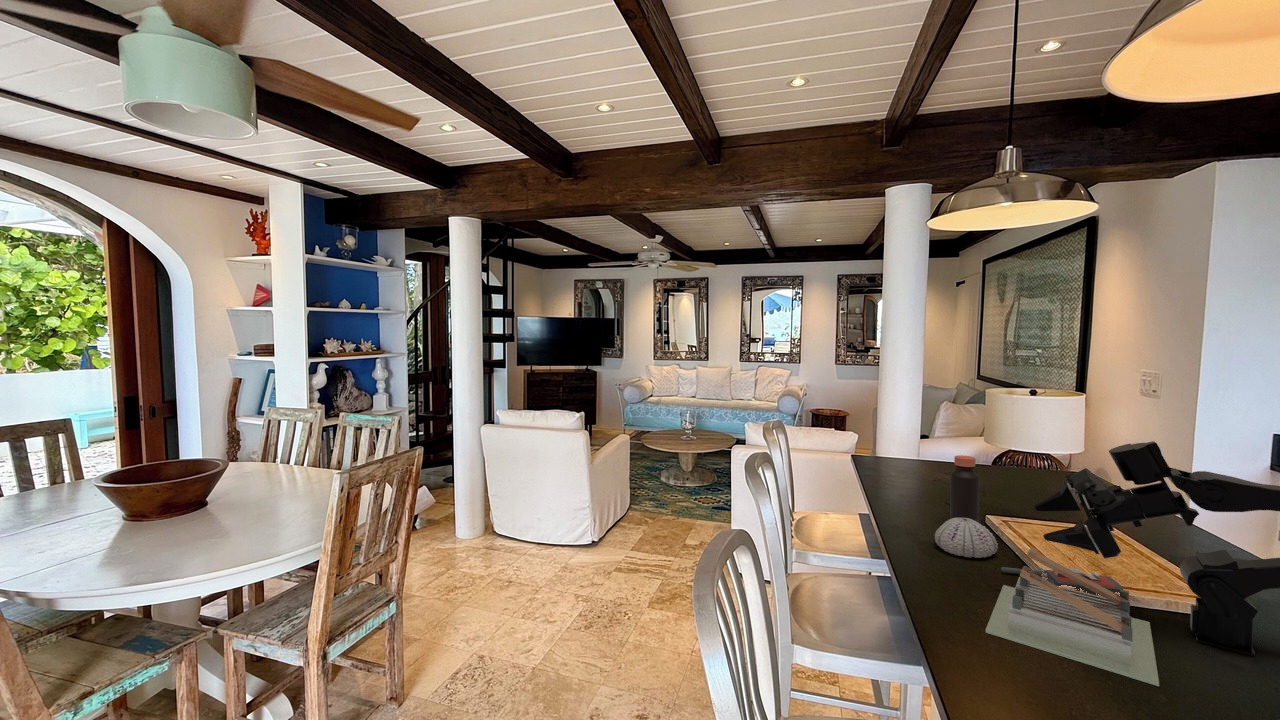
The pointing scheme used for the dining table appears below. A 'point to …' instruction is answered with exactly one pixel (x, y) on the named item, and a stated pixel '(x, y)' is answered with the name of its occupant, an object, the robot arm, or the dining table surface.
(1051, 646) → the heat sink board
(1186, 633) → the dining table surface
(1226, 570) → the robot arm
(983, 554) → the sea urchin shell
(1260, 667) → the dining table surface
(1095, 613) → the strap
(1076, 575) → the strap
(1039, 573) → the walkie-talkie
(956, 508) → the bottle
